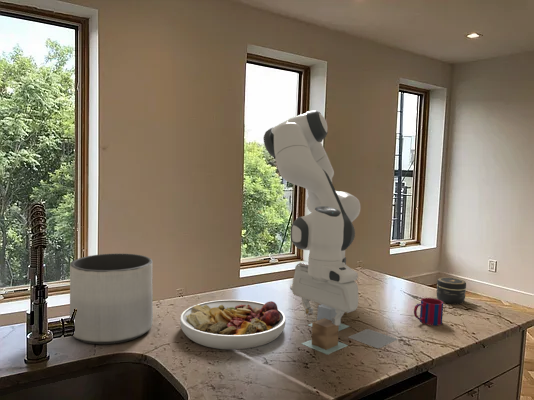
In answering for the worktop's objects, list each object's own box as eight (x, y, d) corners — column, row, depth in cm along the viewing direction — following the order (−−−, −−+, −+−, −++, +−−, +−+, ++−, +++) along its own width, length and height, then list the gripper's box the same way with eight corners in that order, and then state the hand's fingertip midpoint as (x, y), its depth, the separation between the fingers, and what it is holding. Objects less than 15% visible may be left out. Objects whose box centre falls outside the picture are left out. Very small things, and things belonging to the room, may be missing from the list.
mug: (446, 325, 141) (448, 303, 140) (418, 327, 138) (420, 305, 138) (433, 317, 147) (434, 297, 147) (406, 319, 145) (407, 298, 144)
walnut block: (311, 343, 121) (312, 322, 121) (323, 339, 125) (324, 318, 124) (326, 349, 118) (327, 327, 117) (337, 344, 121) (338, 323, 121)
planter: (129, 312, 143) (129, 250, 142) (167, 332, 128) (168, 263, 126) (57, 329, 128) (56, 259, 126) (90, 354, 112) (90, 275, 110)
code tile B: (307, 326, 136) (307, 324, 135) (326, 320, 142) (326, 318, 142) (331, 335, 129) (331, 333, 129) (349, 328, 135) (349, 326, 135)
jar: (467, 300, 168) (468, 279, 167) (462, 306, 160) (464, 285, 159) (439, 294, 173) (440, 275, 173) (433, 301, 165) (434, 280, 164)
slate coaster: (347, 339, 127) (347, 337, 127) (367, 330, 134) (367, 328, 134) (378, 350, 120) (378, 348, 120) (397, 341, 127) (397, 339, 127)
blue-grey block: (316, 325, 135) (317, 305, 135) (327, 321, 139) (328, 302, 138) (330, 329, 132) (331, 309, 131) (340, 325, 135) (341, 306, 135)
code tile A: (300, 345, 121) (300, 343, 121) (322, 337, 128) (322, 335, 128) (327, 356, 115) (327, 354, 115) (348, 347, 121) (348, 345, 121)
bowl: (200, 363, 110) (201, 332, 109) (167, 322, 136) (168, 296, 136) (304, 343, 124) (305, 315, 123) (256, 309, 150) (257, 286, 150)
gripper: (288, 262, 125) (285, 311, 126) (348, 278, 110) (345, 333, 111) (303, 259, 129) (301, 307, 130) (363, 274, 114) (360, 327, 115)
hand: (321, 319), depth 121 cm, fingers open, 8 cm apart
